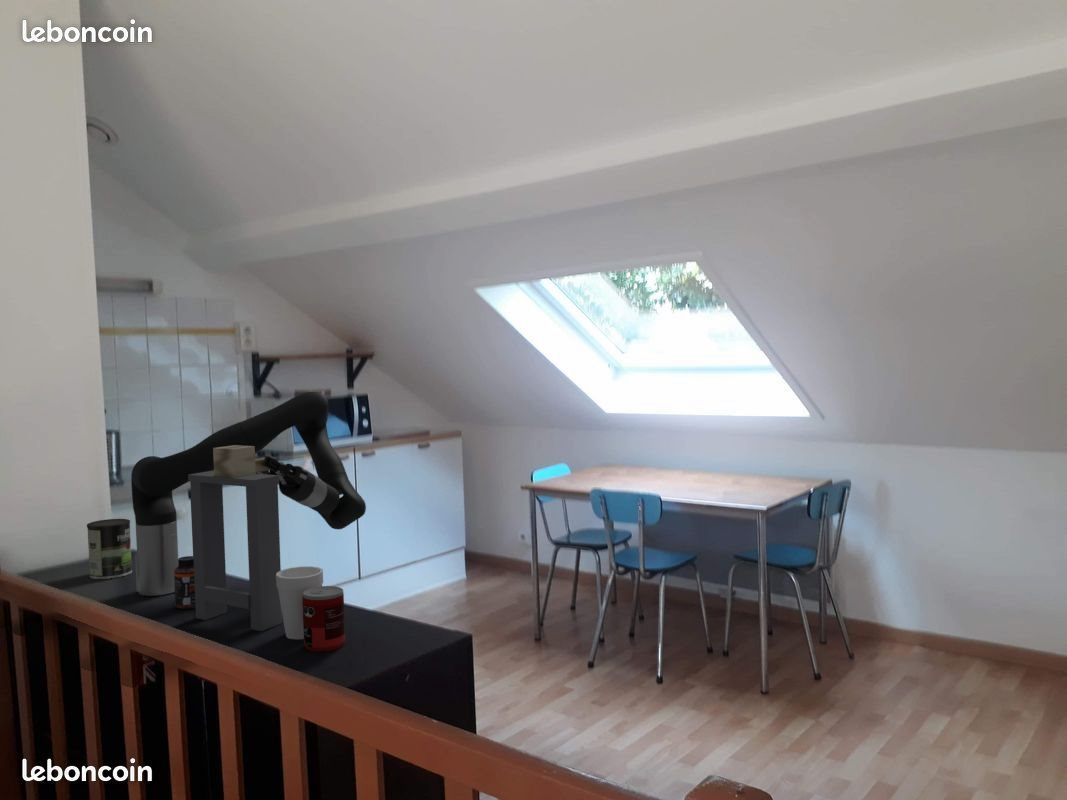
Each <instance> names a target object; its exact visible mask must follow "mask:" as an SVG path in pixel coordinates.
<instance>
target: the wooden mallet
mask: <svg viewBox="0 0 1067 800" xmlns="http://www.w3.org/2000/svg"><path fill="white" fill-rule="evenodd" d="M265 457H266V456H265ZM265 457H259V458H256V454H255V446H241V445H233V446H225V447H218V448H213V458H214V476H222V477H239V476H245V475H251V474H256V472H261V471H266V470H269V471H270V469H269V468H267V467H265V466H263V461H264V459H265ZM270 457H271V458H273V459H274V460H276V461H278V462H279V459H278V457H277V456H276V457H274V456H270Z"/></svg>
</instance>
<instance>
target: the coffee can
mask: <svg viewBox="0 0 1067 800" xmlns="http://www.w3.org/2000/svg"><path fill="white" fill-rule="evenodd" d="M86 528H87V540H88V541H87V545H88V546H87V548H88V563H89V565H88V567H89V578H90V579H92V580H108V579H109V580H111V579H110V578H112V579H118V578H122V576H123V577H126V576H129V575H130V574H132V573H133V569H132V568H133V564H132V549H131V548H132V545H131V540H132V539H131V520H130V519H127V518H109V519H100V520H95V521H91V522H88V523H87V524H86ZM117 577H118V578H117Z"/></svg>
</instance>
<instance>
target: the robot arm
mask: <svg viewBox="0 0 1067 800" xmlns="http://www.w3.org/2000/svg"><path fill="white" fill-rule="evenodd" d="M328 417H329V400H328V398H327V397H326V396H325V395H324V394H322V393H321V392H318V391H305V392H303V393H300V394H298V395H296V396H294V397H292V398H290V399H288V400H287V401H285V402H282V403H281V404H279V405H277V406H275V407H273V408H271V409H268V410H266V411H264V412H262V413H261V412H260V413H259V414H256V415H255V416H253V417H250V418H247V419H245V420H242V421H239V422H235V423H234V424H231V425H229V426H227V427H226V426H225V427H223V428H222V429H220V430H217V431H215V432H213V433H212V434H210V435H209V436H207V437H206V438H204V439H203V440H201V441H200V442H198V443H197V444H195V445H194V446H192V447H190V448H188V449H185V450H183V451H179V452H177V453H174V454H171V455H168V456H163V457H159V456H156V455H155V456H153V455H150V456H145V457H143V458H141V459H139V460H137V462H136V463H135V465H134V466H133V467H132V471H131V476H130V478H131V479H130V481H131V499H132V510H133V513H134V518H135V535H136V536H135V537H136V538H135V539H136V541H135V542H136V553H135V554H134V565H135V586H136V587H135V590H136V592H138V595H140V596H144V595H145V596H144V597H147V596H148V597H150V596H151V597H154V596H164V595H168V594H173V593H175V585H174V570H175V569H176V568H177V567H178V565H179V564H178V559H179V543H178V541H179V540H178V523H177V522H178V520H177V519H178V518H177V510H176V507H175V504H174V498H173V492H174V491H175V490H176V489H178V488H180V487H182V486H183V485H185V484H187V483H190V482H189V481H188V475H189V474H195V473H201V472H207V471H214V458H213V448H218V447H225V446H233V445H241V446H255V455H256V454H257V453H259V452H260V451H262V450H263V449H264V448H266V446H268V445H269V444H270V443H271V442H272V441H273V440H274V439H276V438H277V437H278V436H279V435H280V434H282V433H283V432H285V431H286V430H289V429H290V428H293V427H295V429H296V431H297V432H298V435H299V437H301V438H300V439H302V442H303V443H304V445H305V447H306V449H307V450H308V453H309V456H310V457H311V460H312V462H313V465H314V468H315V472H316V475H315V474H313V473H311V471H309V470H308V469H307V470H306V469H305V468H303V467H302V466H299V465H292V464H291V463H286V464H285V463H284V462H283V461H279V460H278V461H276V460H274V459H273V458H271V457H272V456H265V459H264V461H263V466H265V467H267V468H269V469H270V470H266V471H261V472H256V474H267V475H279V483H278V490H279V491H280V494H282V495H283V496H285V497H287V498H289V499H290V500H292V501H294V502H296V503H298V504H300V505H302V506H305V507H307V508H309V509H311V510H313V511H315V512H317V514H319V515H320V517H322V519H323V520H324V521H325V522H326V523H327V525H328V526H329V527H330V528H331V529H333V530H342V529H345V528H346V527H348V526H349V525H351V524H352V523H354V522H356V521H357V520H359V519H360V518H362V517H363V516H364V515H365V514H366V511H367V505H366V502H365V500H364V499H363V497H362V496H361V495H360V494H359V492H358V491H357V490H356V488H355V487H354V486H353V484H352V483H351V481H350V480H349V477H348V475H347V471H346V469H345V466H344V463H343V461H342V460H341V458H340V456H339V455H338V453H337V452H336V451H335V449H334V448H333V446H332V444H331V441H330V438H329V435H328V428H327V427H328V426H327V423H328Z"/></svg>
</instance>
